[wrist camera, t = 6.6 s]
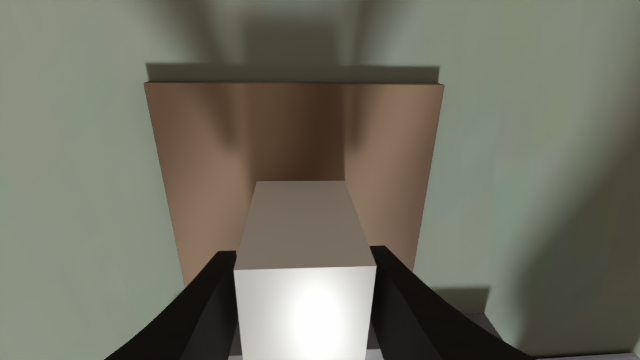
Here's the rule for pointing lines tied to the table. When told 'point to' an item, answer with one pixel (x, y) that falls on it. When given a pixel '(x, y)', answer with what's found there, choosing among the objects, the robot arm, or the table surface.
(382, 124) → the walnut pad
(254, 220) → the plug
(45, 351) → the table surface
